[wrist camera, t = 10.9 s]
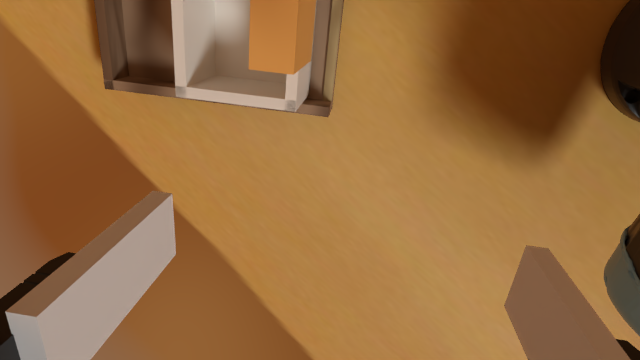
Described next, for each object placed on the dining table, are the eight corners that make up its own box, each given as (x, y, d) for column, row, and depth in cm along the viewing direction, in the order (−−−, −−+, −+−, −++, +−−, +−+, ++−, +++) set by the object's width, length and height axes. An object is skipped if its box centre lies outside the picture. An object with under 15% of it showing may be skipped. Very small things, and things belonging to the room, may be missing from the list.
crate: (333, -68, 36) (306, -122, 21) (318, 95, 42) (288, 140, 27) (206, -80, 37) (98, -139, 22) (209, 82, 43) (125, 118, 28)
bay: (353, -83, 37) (350, -93, 33) (331, 108, 44) (328, 117, 40) (107, -105, 38) (80, -117, 35) (126, 82, 46) (105, 88, 42)
